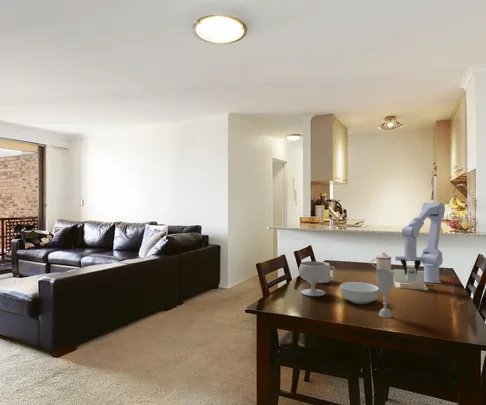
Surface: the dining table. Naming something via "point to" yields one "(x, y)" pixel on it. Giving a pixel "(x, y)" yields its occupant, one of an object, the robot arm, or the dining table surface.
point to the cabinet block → (411, 273)
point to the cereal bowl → (359, 292)
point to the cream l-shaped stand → (402, 281)
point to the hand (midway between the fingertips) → (410, 274)
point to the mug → (327, 273)
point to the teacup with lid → (383, 261)
